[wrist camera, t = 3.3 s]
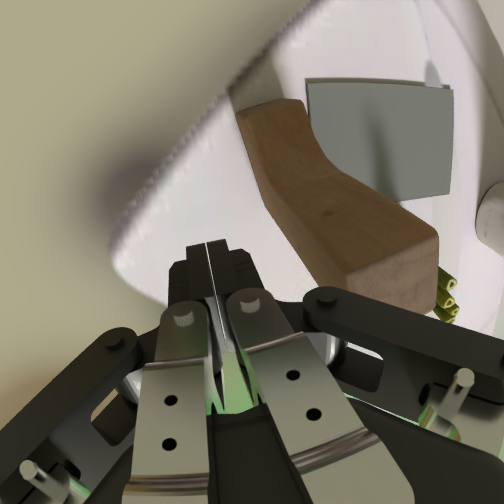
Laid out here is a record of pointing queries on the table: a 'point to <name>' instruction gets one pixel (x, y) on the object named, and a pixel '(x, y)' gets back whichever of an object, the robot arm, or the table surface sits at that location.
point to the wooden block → (338, 214)
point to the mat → (386, 135)
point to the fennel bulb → (445, 297)
